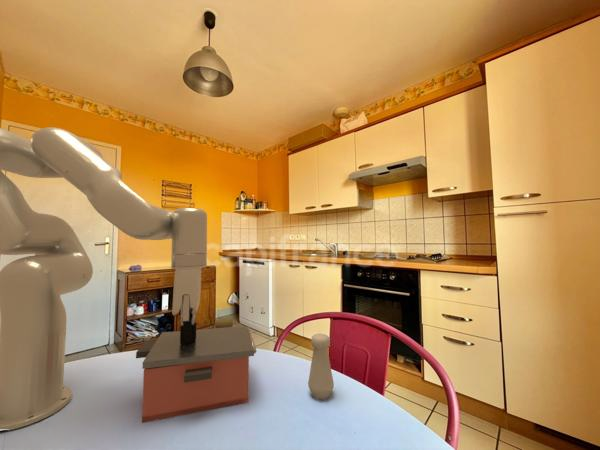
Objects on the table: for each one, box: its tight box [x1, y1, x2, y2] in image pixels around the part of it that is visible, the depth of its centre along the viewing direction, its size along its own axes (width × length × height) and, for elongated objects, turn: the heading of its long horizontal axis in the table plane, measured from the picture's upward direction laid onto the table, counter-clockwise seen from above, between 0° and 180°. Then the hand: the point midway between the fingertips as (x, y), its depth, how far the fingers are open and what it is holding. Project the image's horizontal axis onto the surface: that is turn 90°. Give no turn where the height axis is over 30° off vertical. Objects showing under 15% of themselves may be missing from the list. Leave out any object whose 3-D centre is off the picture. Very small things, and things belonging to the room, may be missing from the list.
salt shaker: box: [307, 332, 335, 400], centre depth 57 cm, size 6×6×13 cm
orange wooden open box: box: [141, 356, 250, 424], centre depth 58 cm, size 20×19×10 cm
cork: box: [214, 317, 234, 328], centre depth 75 cm, size 6×6×11 cm
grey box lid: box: [135, 325, 257, 370], centre depth 58 cm, size 24×16×1 cm, turn 107°
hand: (188, 341), depth 57 cm, fingers closed
